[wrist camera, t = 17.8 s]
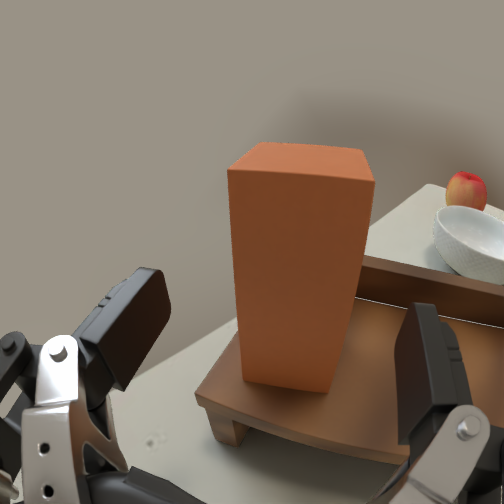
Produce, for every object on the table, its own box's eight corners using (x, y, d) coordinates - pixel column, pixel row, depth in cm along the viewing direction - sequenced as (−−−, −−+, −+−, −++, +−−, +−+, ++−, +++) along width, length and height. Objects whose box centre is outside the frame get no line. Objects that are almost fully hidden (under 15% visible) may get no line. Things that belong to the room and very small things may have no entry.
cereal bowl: (422, 285, 35) (436, 238, 32) (426, 233, 48) (435, 196, 44) (522, 314, 28) (543, 272, 24) (505, 257, 40) (517, 222, 36)
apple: (441, 205, 59) (449, 164, 54) (477, 217, 54) (487, 176, 49) (440, 220, 52) (450, 173, 47) (481, 233, 47) (493, 187, 42)
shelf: (211, 443, 20) (183, 361, 14) (276, 332, 30) (279, 237, 24) (470, 498, 12) (564, 434, 6) (474, 376, 22) (526, 291, 16)
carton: (242, 380, 16) (226, 169, 10) (262, 322, 21) (259, 141, 14) (328, 393, 15) (375, 180, 9) (334, 332, 19) (362, 149, 13)
